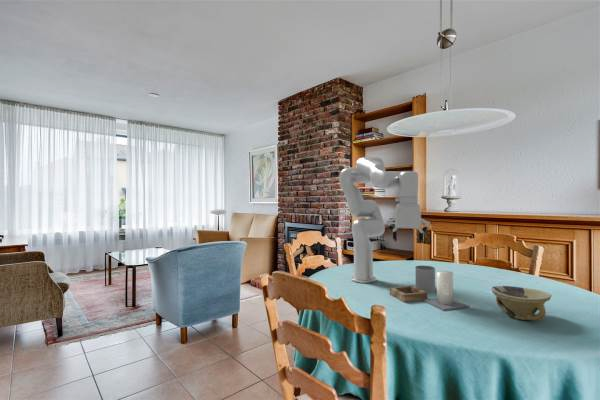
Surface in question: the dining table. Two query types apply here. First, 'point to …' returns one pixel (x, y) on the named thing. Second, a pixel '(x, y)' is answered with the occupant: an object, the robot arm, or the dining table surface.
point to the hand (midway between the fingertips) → (407, 241)
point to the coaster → (446, 307)
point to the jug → (444, 287)
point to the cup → (425, 278)
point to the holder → (408, 293)
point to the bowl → (521, 302)
